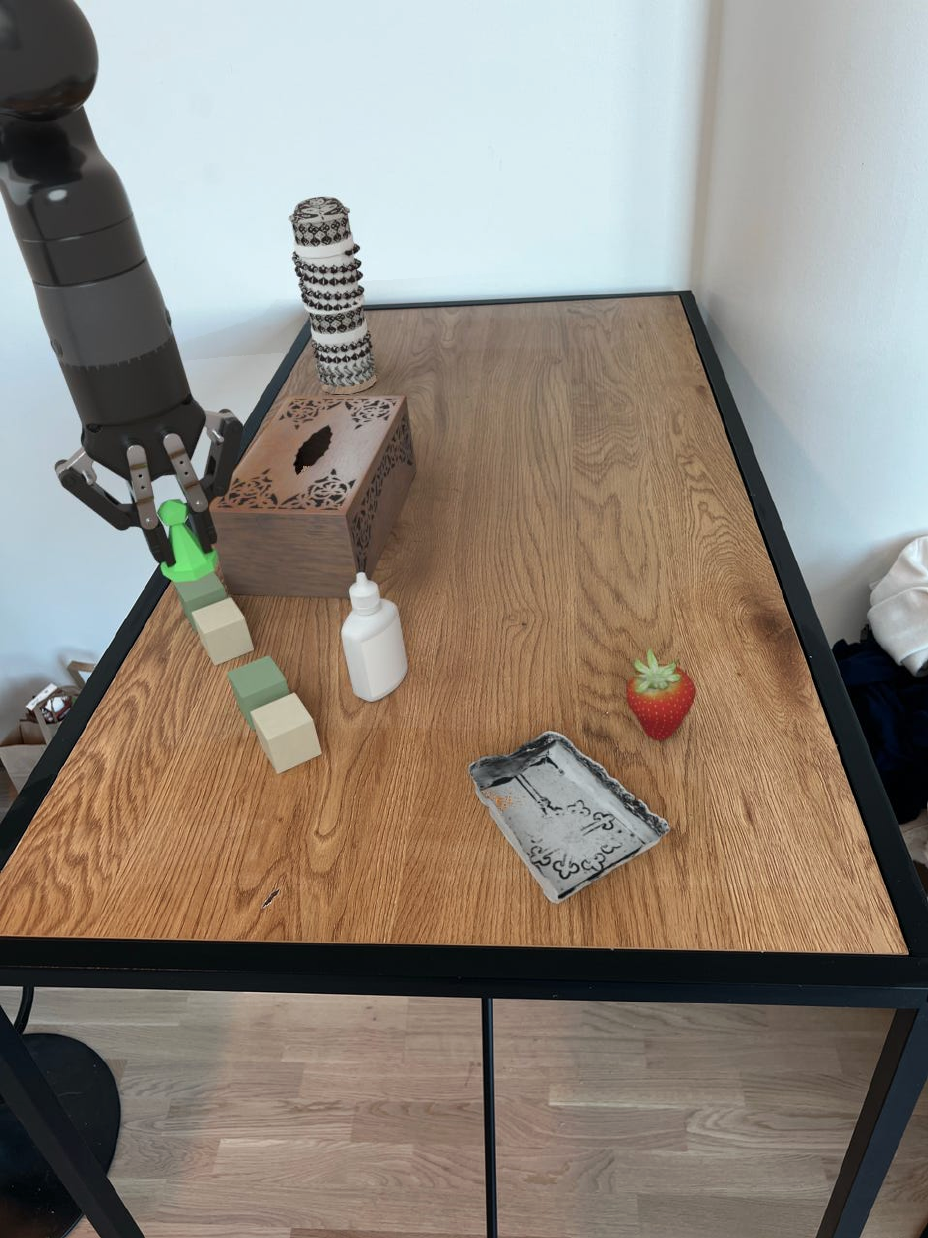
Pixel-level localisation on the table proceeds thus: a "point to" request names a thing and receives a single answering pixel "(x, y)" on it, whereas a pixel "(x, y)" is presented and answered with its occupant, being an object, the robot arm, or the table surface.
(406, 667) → the eye dropper bottle
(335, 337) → the black white cylinder
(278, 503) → the tissue box cover
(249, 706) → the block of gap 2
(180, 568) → the game piece
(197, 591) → the block far
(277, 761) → the block near
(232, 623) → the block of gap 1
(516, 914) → the table surface
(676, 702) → the fruit
